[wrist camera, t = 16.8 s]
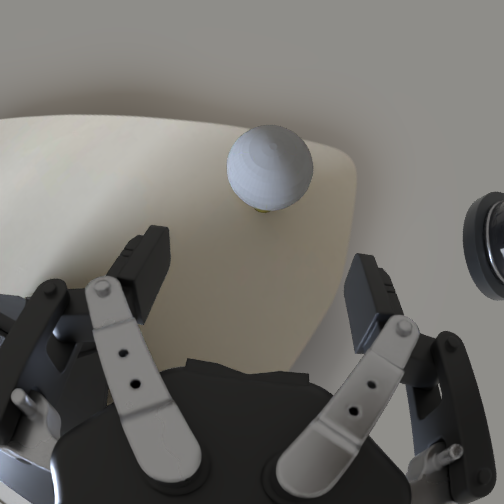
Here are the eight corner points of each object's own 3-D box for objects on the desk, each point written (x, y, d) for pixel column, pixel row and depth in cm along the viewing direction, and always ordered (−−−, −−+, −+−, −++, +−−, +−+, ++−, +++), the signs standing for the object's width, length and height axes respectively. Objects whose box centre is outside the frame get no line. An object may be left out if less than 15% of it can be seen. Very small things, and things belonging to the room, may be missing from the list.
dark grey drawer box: (18, 305, 24) (-47, 300, 14) (115, 347, 24) (53, 364, 14) (12, 422, 22) (-41, 444, 12) (101, 473, 21) (57, 519, 12)
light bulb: (303, 224, 26) (335, 178, 16) (242, 242, 25) (238, 203, 15) (284, 168, 27) (301, 101, 17) (225, 183, 26) (213, 119, 16)
